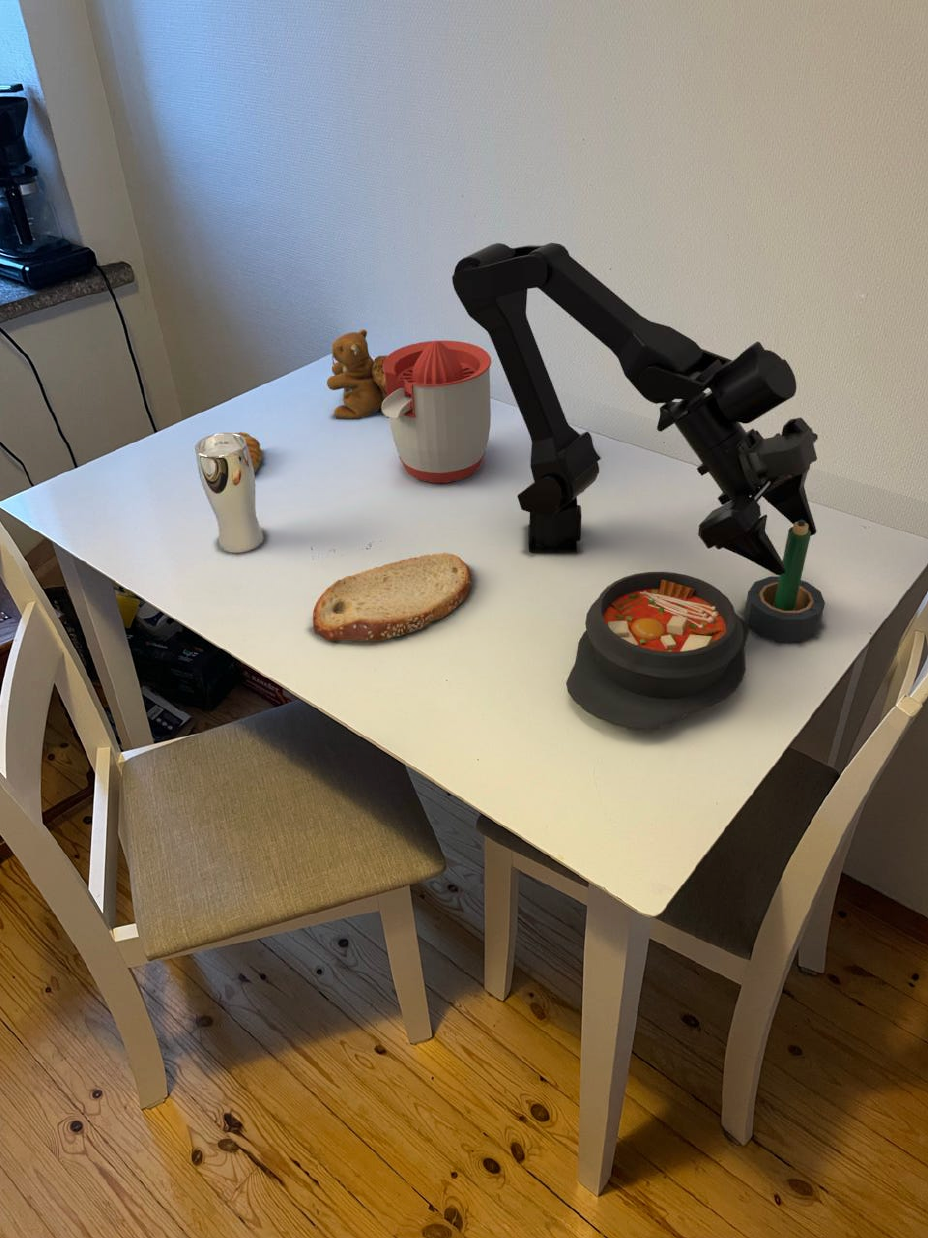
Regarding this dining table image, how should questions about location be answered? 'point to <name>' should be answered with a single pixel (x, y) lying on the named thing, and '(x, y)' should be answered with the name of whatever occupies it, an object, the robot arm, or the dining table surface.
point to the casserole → (657, 651)
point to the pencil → (792, 566)
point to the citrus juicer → (439, 408)
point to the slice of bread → (392, 598)
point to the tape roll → (783, 612)
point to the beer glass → (230, 489)
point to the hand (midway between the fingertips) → (798, 553)
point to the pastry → (253, 450)
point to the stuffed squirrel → (357, 376)
